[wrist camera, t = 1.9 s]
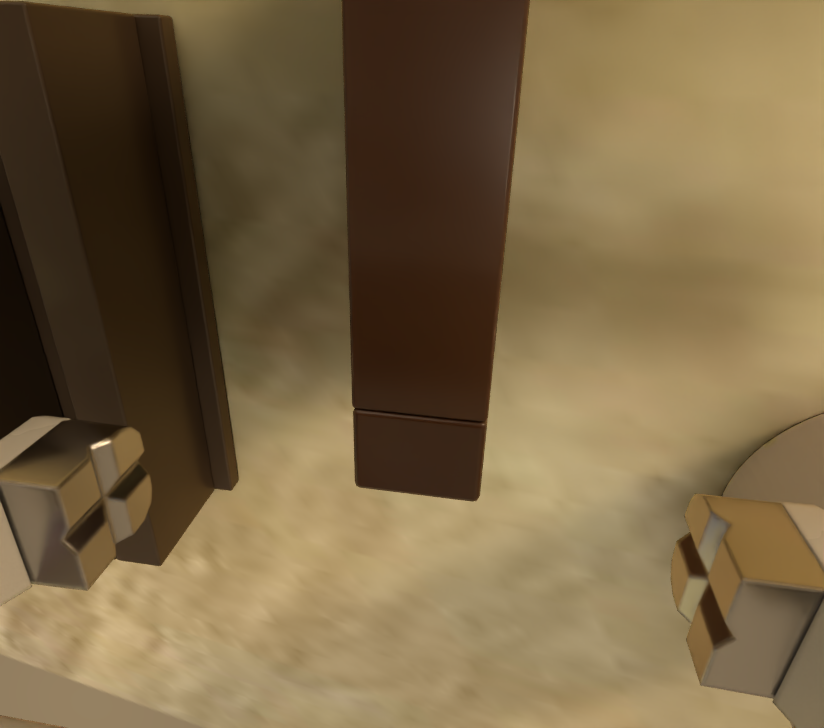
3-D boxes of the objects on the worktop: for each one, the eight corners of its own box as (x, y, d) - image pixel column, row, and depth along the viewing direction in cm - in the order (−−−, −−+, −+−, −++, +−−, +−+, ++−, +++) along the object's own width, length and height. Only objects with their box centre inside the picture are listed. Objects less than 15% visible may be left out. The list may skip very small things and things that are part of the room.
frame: (541, -164, 11) (582, -515, 4) (495, 310, 16) (478, 504, 9) (440, -162, 12) (325, -492, 5) (423, 304, 16) (353, 489, 9)
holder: (172, 15, 14) (53, 1, 10) (239, 480, 20) (180, 570, 17) (-106, 10, 15) (-303, -5, 11) (42, 455, 21) (-53, 535, 18)
